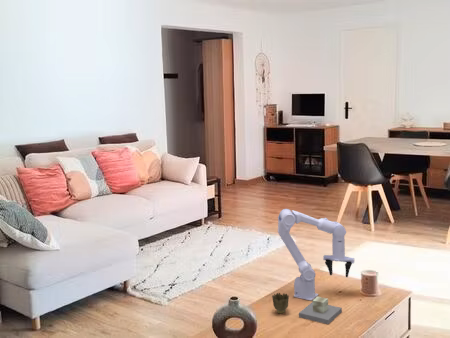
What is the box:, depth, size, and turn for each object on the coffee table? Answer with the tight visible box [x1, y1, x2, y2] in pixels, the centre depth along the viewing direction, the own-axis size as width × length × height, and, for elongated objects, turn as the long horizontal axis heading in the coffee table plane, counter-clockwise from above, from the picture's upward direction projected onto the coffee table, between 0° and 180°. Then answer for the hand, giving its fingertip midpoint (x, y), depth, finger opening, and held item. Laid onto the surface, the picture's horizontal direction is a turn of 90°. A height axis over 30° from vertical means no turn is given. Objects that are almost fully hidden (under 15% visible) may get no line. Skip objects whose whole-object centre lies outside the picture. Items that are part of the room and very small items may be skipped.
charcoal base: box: [298, 301, 343, 325], centre depth 230 cm, size 14×14×2 cm
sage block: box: [312, 295, 329, 313], centre depth 229 cm, size 5×5×5 cm
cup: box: [271, 292, 290, 315], centre depth 233 cm, size 8×7×8 cm
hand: (339, 275), depth 249 cm, fingers open, 7 cm apart
